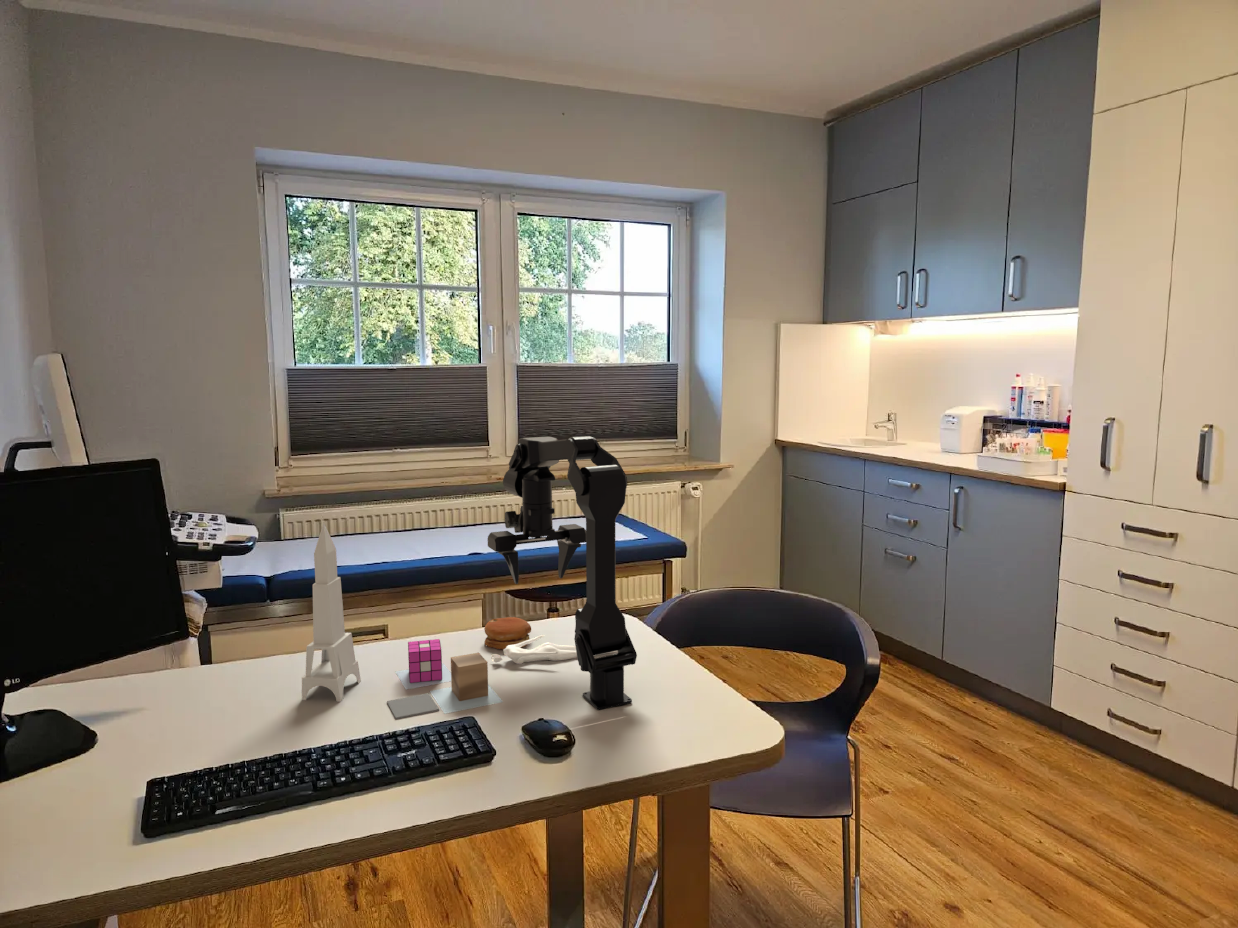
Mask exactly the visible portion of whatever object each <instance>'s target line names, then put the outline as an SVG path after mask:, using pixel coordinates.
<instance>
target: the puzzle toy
mask: <svg viewBox="0 0 1238 928" xmlns="http://www.w3.org/2000/svg"><path fill="white" fill-rule="evenodd" d="M442 652H443V651H442V646H441V640H440V638H438V639H436V638H435V639H425V640H414V641H412V640H411V641H408V642H407V655H408V669H409V678H410V679H409V681H410V683H416V682H426V681H435V680H442V663H443V660H442V659H443V658H442V657H443V656H442Z"/></svg>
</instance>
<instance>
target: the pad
mask: <svg viewBox="0 0 1238 928" xmlns="http://www.w3.org/2000/svg"><path fill="white" fill-rule="evenodd" d="M430 694H431V693H430V692H429V693H422V694H421V693H420V694H417V695H412V696H405V697H402V698H401V697H400V698H395V699H390V700H387V701H386V703H387V705H388V707H389V709H390V712H391V714H392V716H393V717H394V719H395V720H400V719H407V718H410V717H415V716H420V715H421V716H422V715H424V714H431V713H435V712H439V711H440V707H438V704H437V703H436V701H435V699H433V698H432V697H433V696H432V695H430Z"/></svg>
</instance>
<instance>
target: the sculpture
mask: <svg viewBox="0 0 1238 928" xmlns="http://www.w3.org/2000/svg"><path fill="white" fill-rule="evenodd" d="M313 558H314V559H313V561H314V579H315V580H314V581H315V582H314V583H313V584H312V628H313V629H312V632H313V640H312V641H311V642H310V643H309V644H307V645H306V648H305V649H306V653H305V654H306V656H305V674H304V675H303V676H302V677H301V700H302V701H307V696H308V693H309V692H310V691H311V689H313V688H315V687H325V688H327V689H329V690H330V691H331V692H332V693H333V695H334V696H335V700H336V702H338V703H340V702H343V699H344V697H345V696H344V687H345V683H346V679H347V678H348V677H349V675H354V677H355V678H356V682H357V684H358V685H359V684H360V683H361V682H362V680H361V679H362V678H361V673H360V667H359V661H358V660H356V655H355V647H354V640H353V635H352V634H353V633H352V632H346V631H345V630H346V629H345V618H344V617H345V616H344V605H343V593H342V581H341V576H338V564H337V563H338V560H337V558H338V557H337V548H336V546H335V544H334V541H333V539H332V536H331V535H330V533H329V531H328V527H327V526H326V524H325V522H322V526H321V530H320V533H319V536H318V539H317V543H316V546H315V549H314V552H313ZM315 650H321V661H320V662H319V663H318V664H317V665H315V666H314V667H313V662H314V655H315V654H314V653H315Z"/></svg>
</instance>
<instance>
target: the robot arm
mask: <svg viewBox="0 0 1238 928" xmlns="http://www.w3.org/2000/svg"><path fill="white" fill-rule="evenodd" d="M565 460H567V462H568V463H569V465H568V469H567V474H566V477H567V479H568V481H569V483H570V485H571V487H572V488H573V491H574V493H575V501H576V504H577V506H578V507H579V509H580V511H581V513H582V514H583V516H584V517H585V527H583V526H580V525H578V524H576V523H570V524H561V525H559V526H558V528H557V530H556V529H555V528H553V515H554V514H555V507H553V482H554V481H555V480H556V477H555V474H554V473H552V472H551V470H550V469H551V467H553V466H554V465H558V463H560V461H565ZM586 460H590V461H591V463H592V464H594V466H585V467H583V466H582V467H581V468H580V467H579V465H578V464H577V461H586ZM508 465H509V466H508V470H507V471H506V472H505V474H504V476H503V478H502V485H503V488H504V489H505V491H506V492H508V493H509V494H511V495H513V496H516V497H520V498H521V499H522V502H521V503H522V505H520V508H519V510H520V511H519V513H517V512H516V510H508V511H505V512H504V526H505V528H506V529H514V533H515V534H514V533H512V532H510V531H509V530H501V531H492V532H489V534H488V535H487V547H488V548H490V549H491V550H492V551H494V552H496V553H498V554H500V555H501V556H502V557H503V558H504V560H505V562H506V563H507V566H508V569H509V571H510V574H511V577H512V579H513V583H514V585H518V584H519V577H520V576H519V574H520V571H519V569H520V568H519V551H517V550H515V549H516V547H517V545H525V544H534V543H542V542H551V541H556V543H557V548H558V566H557V568H558V569H557V573H558V578H559V579H563V578H564V575H565V573H566V571H567V568H568V566H569V564H570V562H571V560H572V558H573V555H574V554H575V553H576V551H577V549H578V548H581V547H582V543H583V544H584V543H585V551H586V552H585V555H586V556H585V557H586V559H585V562H586V563H585V567H586V568H585V569H586V573H585V575H586V577H585V578H586V585H585V587H586V593H585V594H586V601H585V603H584V605H583V607H582V608H577V609H576V611H575V613H574V616H575V618H574V619H575V629H574V644H575V645H574V646H576V652H577V662H578V665H579V667H580V671H581V672H588V673H589V678H590V679H589V691H585V692H582V698H584V699H585V700H586V701H587V702H589V704H591V705H592V706H593V707H594V709H596V710H600V711H601V710H604V709H610V708H614V707H618V706H622V705H623V706H624V705H627V704H628V705H629V704H631V703H632V702H633V699H632V698H631V697H630V696H628V695H627V694H626V693H625V690H624V689H625V687H624V686H625V678H624V677H625V667H627V666H630V665H632V666H633V665H635V664H636V661H637V657H638V654H637V651H636V649H635V647H634V643H633V642H632V639H631V637H630V634H629V632H628V630H627V628H626V618H625V616H624V614H623V613H622V610H621V609H620V608H619V607H618V605H617V601H616V520H617V518H618V516H619V514H620V512H621V510H622V508H623V507H624V505H625V503H626V494H627V488H628V478H627V475H626V473H625V471H624V469H623V468H622V466H621V465H620V462H619V460H618V459H617V458H616V456H614V455H612V454H611V453H609V452H608V451H607V450H605V449H604V448H603V447H601V445H600V444H599V442H598V441H597V439H596V438H595V437H594V436H593V437H592V436H590V435H587V436H586V435H585V436H571V437H569V438H565V439H558V438H557V437H552V436H539V437H538V436H536V437H535V436H534V437H521V438H519V439H518V440H517V444H516V445H515V447H514V450H513V453H512V455H511V458H510V459H509V461H508ZM519 533H520V534H519ZM613 651H618V652H615V653H610V654H609V653H608V652H613ZM603 654H607V655H603ZM598 655H599V657H594V656H598ZM600 655H602V656H600Z"/></svg>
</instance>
